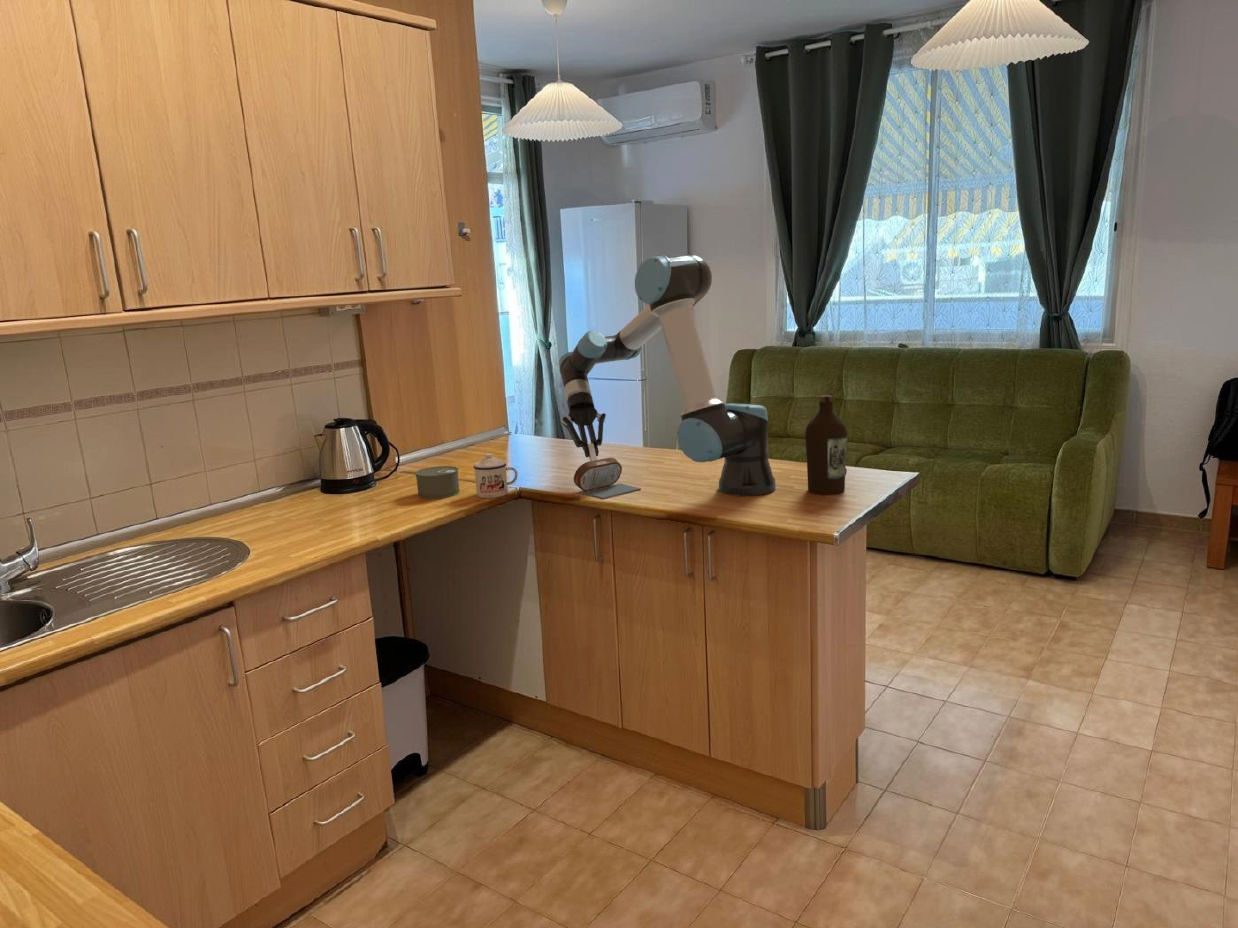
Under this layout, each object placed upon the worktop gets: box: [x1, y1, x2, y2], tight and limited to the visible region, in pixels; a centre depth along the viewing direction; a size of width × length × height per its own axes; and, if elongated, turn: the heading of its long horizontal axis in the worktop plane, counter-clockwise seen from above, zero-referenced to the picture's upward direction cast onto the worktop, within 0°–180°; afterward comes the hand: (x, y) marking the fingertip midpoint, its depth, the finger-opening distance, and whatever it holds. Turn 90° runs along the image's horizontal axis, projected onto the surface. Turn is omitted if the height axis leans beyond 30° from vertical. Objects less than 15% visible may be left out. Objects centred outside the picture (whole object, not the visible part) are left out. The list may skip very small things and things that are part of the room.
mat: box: [583, 483, 642, 500], centre depth 240 cm, size 9×13×1 cm
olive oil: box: [804, 394, 848, 495], centre depth 226 cm, size 11×11×25 cm
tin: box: [573, 457, 623, 492], centre depth 242 cm, size 15×3×8 cm, turn 127°
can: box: [415, 465, 461, 500], centre depth 248 cm, size 12×12×7 cm
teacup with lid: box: [473, 453, 519, 499], centre depth 243 cm, size 12×9×12 cm
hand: (594, 465), depth 243 cm, fingers closed
